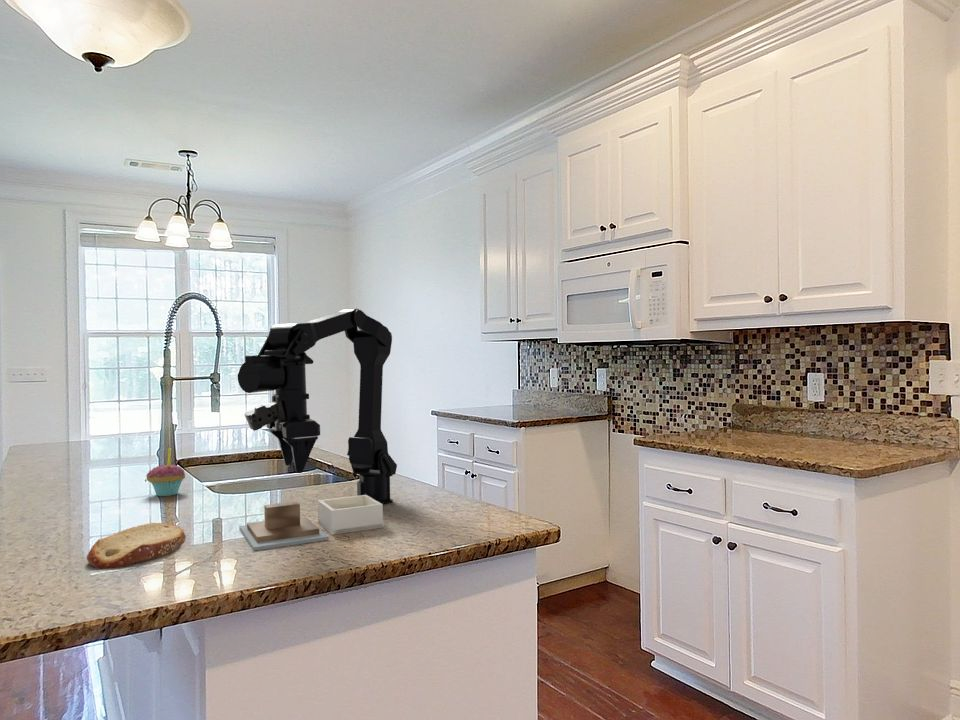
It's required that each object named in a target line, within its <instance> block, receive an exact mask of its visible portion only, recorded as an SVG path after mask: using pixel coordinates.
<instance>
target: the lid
mask: <svg viewBox="0 0 960 720" xmlns="http://www.w3.org/2000/svg"><path fill="white" fill-rule="evenodd" d="M263 511H264V512H263V513H264V520H262V521H260V520H259V521H254V522H246V525H247V529H248V530H249V532H250V533H251V535H252V536H253V537H254V539H255V540H256V542H257V543H258V542H266V541H273V540H280V539H287V538H294V537H302V536H309V535H316V534H319V529H320V528H319V527H318V525H316V524H315V523H313V522H312V521H311V519H309V518H308V517H307V516H306V515H301V503H300V502H298V501H289V502H279V503H270V504H264V510H263Z"/></svg>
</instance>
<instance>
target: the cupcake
mask: <svg viewBox="0 0 960 720" xmlns="http://www.w3.org/2000/svg"><path fill="white" fill-rule="evenodd" d="M171 446H172V445H169V448H168V450H167V464H163V465H158V466H155V467H154V468H153V467H152V469H150V470H149V471H148V472H147V473H146V476H145V477H146V481H147V482H148V483H151V485H152V487H153V490H154V493H155V495H156V496H158V497H169V496H170V497H171V496H174V495H177V494H179V490H180V487H181V485H182V482H183V480H184V479H186V473H185V470H184V469H183V468H182V467H181V466H179V465H176V464H171V460H172V459H171V457H172V447H171Z"/></svg>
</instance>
